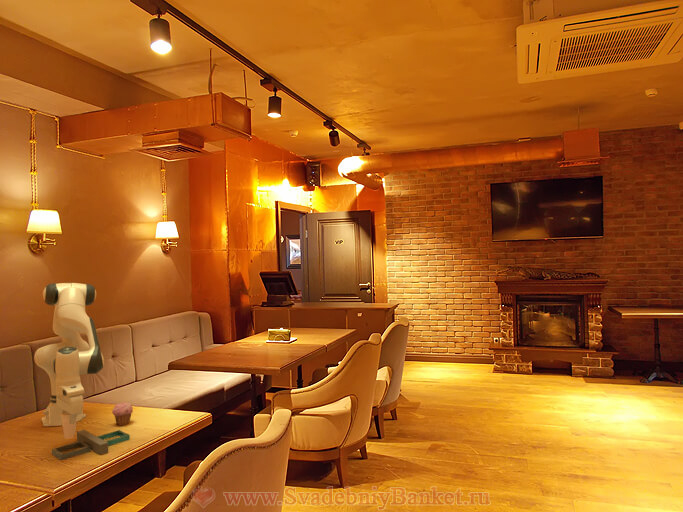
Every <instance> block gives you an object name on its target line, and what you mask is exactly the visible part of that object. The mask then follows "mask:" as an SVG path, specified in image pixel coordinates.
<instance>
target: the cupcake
mask: <svg viewBox="0 0 683 512" xmlns="http://www.w3.org/2000/svg"><path fill="white" fill-rule="evenodd" d="M133 410H134V409H133V406H132V404H131V403H130V402H121V403H117V404H116V405H114V407H113V409H112V410H111V411H112V415H113V416H114V419H115V423H116V425H119V426H126V425H127V424H129V423H130V421H131V416H132V413H133Z"/></svg>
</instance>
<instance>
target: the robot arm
mask: <svg viewBox="0 0 683 512" xmlns="http://www.w3.org/2000/svg"><path fill="white" fill-rule="evenodd" d="M42 298H43V300H44V303H45V304H46V305H48V306H53V307H54V312H53V319H52V320H53V321H52V331H53V333H54V334H55V335H57V336H59V337H61V340H62V341H61V342H58V343H57V342H56V343H51V344H47V345H44V346H42V347H39V348H38V349H36V351H35V353H34V357H33V360H34V362H35V364H36V365H37V367H39V368H41V369H42V370H44V371H45V372H46V374H47V375H48V377H49V380H50V389H51V394H50V397H49V402H50V403H49V404H48V405H47V407H46V409H45V410H43V411H42V413H43V416H44V417H41V423H42V426H43V427H45V428H46V427H58V426H63V425H62V418H61V417H60V416H61V413H63V412H67V413H69V414H70V416H71V417H70V424H75V423H76V424H77V422H80V421H82V419H84V418H86V417H87V414H86V413H84V411H83V409H84V396H83V395H84V394H85V388H84V387H83V385H82V382H81V381H82V380H81V376H80V375H91V374H92V375H95V374H98V373H99V372H101V371H102V370H103V368H104V366H105V358H104V355H103V353H102V350H101V347H100V342H99V337H98V331H97V328H96V325H95V321H94V320H93V319H94V318H92V317H91V316H88V315H87V313H86V307H87V306H91V305H92V304H94V302H95V301H96V298H97V291H96V287H95V286H94V285H93V284H89V283H80V282H78V283H77V282H61V283H56V282H55V283H54V282H53V283H51V282H50V283H47V285H45V287H44V289H43V291H42ZM80 333H83V334H84V335H86V336H87V341H88V342H87V341H86V340H84V339H83V337H81V335H80ZM76 417H77V422H76Z"/></svg>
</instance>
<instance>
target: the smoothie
mask: <svg viewBox="0 0 683 512" xmlns="http://www.w3.org/2000/svg"><path fill="white" fill-rule="evenodd" d="M60 417H61V418H62V425H61V426H62V431H63V438H64V439H72V438H75V435H76V427H77V422H78V421H77V417H76V423H75V424H70V417H71V416H70V414H69V413H67V412H63V413H61V416H60Z"/></svg>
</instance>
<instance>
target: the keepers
mask: <svg viewBox="0 0 683 512" xmlns="http://www.w3.org/2000/svg"><path fill="white" fill-rule="evenodd" d="M114 436H115V438H114ZM97 437H98V438H100V439H102V440H104V439H105V440H104V441H106V442H108V447H109V446H112V445H113V446H114V445H117V444H119V443H122V442H126V441H129V440H130V439H131V438H130V437H131V436H130V434H129V433H127V432H124V431H122V430H120V429H118V430H114V431H111V432H108V433H105V434H101V435H97ZM111 437H112V438H111ZM107 438H108V439H107ZM76 448H77V449H76ZM73 449H74V450H73ZM69 450H70V451H69ZM66 451H67V452H66ZM89 452H91V449H90V446H89V445H87V444H85V443H84V442H82V441H76V442H71V443H68V444H65V445H64V444H63V445H61V446H58V447H54V448H51V455H52V456H54V457H56V459H58V460H60V461H63V460H66V459H70V458H73V457H76V456H79V455H83V454H86V453H89Z"/></svg>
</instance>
